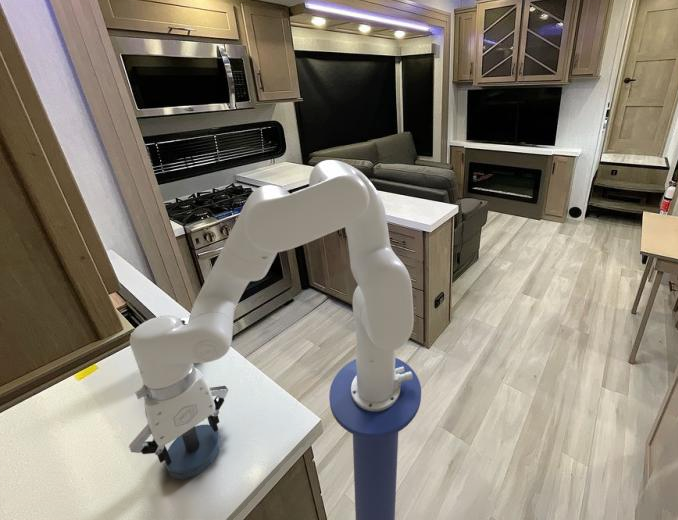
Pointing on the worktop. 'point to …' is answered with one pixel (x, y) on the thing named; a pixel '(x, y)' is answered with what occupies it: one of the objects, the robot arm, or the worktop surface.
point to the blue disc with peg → (193, 451)
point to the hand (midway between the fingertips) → (191, 442)
